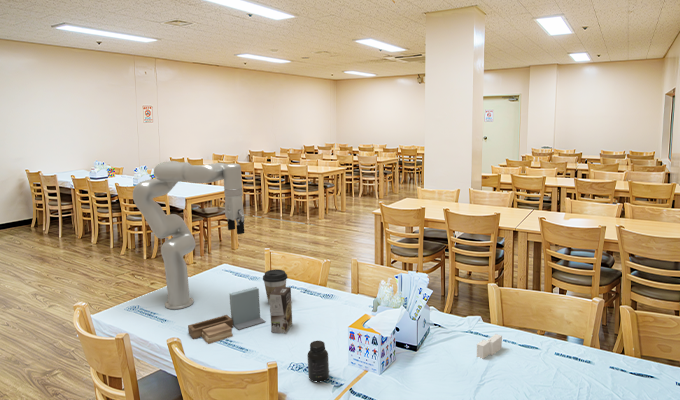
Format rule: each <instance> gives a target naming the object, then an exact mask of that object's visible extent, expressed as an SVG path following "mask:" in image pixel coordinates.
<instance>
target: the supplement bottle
mask: <svg viewBox="0 0 680 400" xmlns="http://www.w3.org/2000/svg"><path fill="white" fill-rule="evenodd" d="M329 365H330V363H329V352H328V350H326V344H325V342H324V341H322V340H313V341H311V342H310V344H309V350H308V352H307V375H308V379H309V378H310V379H311V380H313V381H317V382H319V383H321V382H320V381H324V380H326V379H327V378H328V379H329V377H330V367H329ZM310 379H309V380H310ZM328 379H327V380H328ZM311 380H310V381H311ZM327 380H326V381H327ZM313 381H312V382H313ZM317 382H316V383H317ZM324 382H325V381H324Z"/></svg>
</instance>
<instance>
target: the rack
mask: <svg viewBox="0 0 680 400" xmlns="http://www.w3.org/2000/svg"><path fill="white" fill-rule="evenodd" d="M223 323H226V324H227V325H228V326H229V327H231V328H232V329H233V328H234V326H233V320H232V319H231V316H229V315H228V314H224V315H221V316H217V317H214V318H210V319H207V320H204V321H200V322H196V323H191V324H189V325H187V332H188V335H189V336H190V337H191V338H192V339H193V340H196V339H199V338H202V332H203V331H202V330H203V329H206V328H209V327H213V326H216V325H219V324H223Z"/></svg>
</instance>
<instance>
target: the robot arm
mask: <svg viewBox="0 0 680 400" xmlns="http://www.w3.org/2000/svg"><path fill="white" fill-rule="evenodd" d="M153 175H154V177H155V178H151V179H145V180H142V181H139V182H138V183H137V184H136V185H135V186H134V188H133V189H132V200H133V202H134V205H135V207H136V208H137V210H139V211H140V213H141V215H142V216H143V217H144V219H145V222H146V223H147V224H148V226H149V227H150V230H151V231H152V233H153V234H154V236H155V237H156V238H157V239H162V240H163V239H165V238H168V237H171V236H172V237H171V238H169V239H167V240H166V241H164V242H163V244H162V245H161V247H160V253H161V257H162V260H163V263H164V264H163V265H164V271H165V281H166V290H167V291H166V292H167V293H166V294H167V300H166V302H164V306H165V308H166V309H167V310H168V309H169V310H180V309H185V308H188V307H190V306H192V305H193V304H194V299H193V298H192V297H190V288H189V287H190V286H189V273H188V266H187V262H186V261H185V259H184V256H185V255H188V254H190V253H192V252H193V251H194V250H195V248H196V240H195V237H194V236H193V233H192V232H191V230H190V229H189V226H188V225H187V224H186V222H185V221H184V218H182V217H181V216H180V215H178V214H176V213H171V214H166V213H165V211H164V209H163V208H162V206H161V205H160V204H159V203H158V202H156V201H155V200H154V199H155V198H158V197H161V196H162V197H163V196H166V195H167V194H168V193H170V192H171V191H172V189H174V187H175V186H176V185H177V184H178V183H179V182H180V183H181V182H182V183H185V182H186V183H191V184H210V183H211V184H212V183H214V182H219V181H222V180H223V189H224V191H223V192H224V215H225V217H226V221H227V230H228V231H233V230H236V235H242V234H245V214H244V212H245V211H244V204H243V193H244V192H243V179H242V166H241V164H239V163H225V162H224V163H223V162H216V163H215V162H214V163H211V164H205V165H203V164H201V165H199V164H196V165H193V164H191V163H190V162H187V161H185V162H184V161H183V162H182V161H181V162H179V161H177V160H172V161H171V160H170V161H165V162H160V163H158V164H156V165H155V167H154V169H153Z"/></svg>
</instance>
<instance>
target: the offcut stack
mask: <svg viewBox="0 0 680 400" xmlns="http://www.w3.org/2000/svg"><path fill="white" fill-rule="evenodd" d="M202 331H203V332H202V337H201V338H202V340H204V341H205V343H207V345H209V344H213V343H216V342H219V341H223V340H226V339H228V338H229V339H230V338H231V337H234V336H233V328H231V327H229V326H228V325H227V324H226V323H223V324H219V325H216V326H213V327H209V328H206V329H203V330H202Z"/></svg>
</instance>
